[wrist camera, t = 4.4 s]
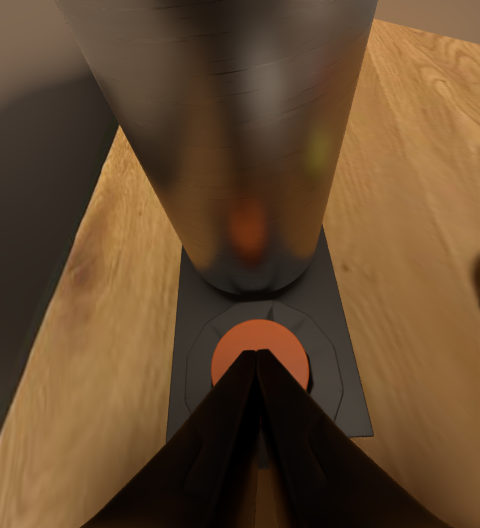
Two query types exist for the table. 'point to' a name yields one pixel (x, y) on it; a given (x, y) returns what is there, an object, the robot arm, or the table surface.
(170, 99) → the silver metal canister
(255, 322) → the switch
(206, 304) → the push button box
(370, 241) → the table surface
